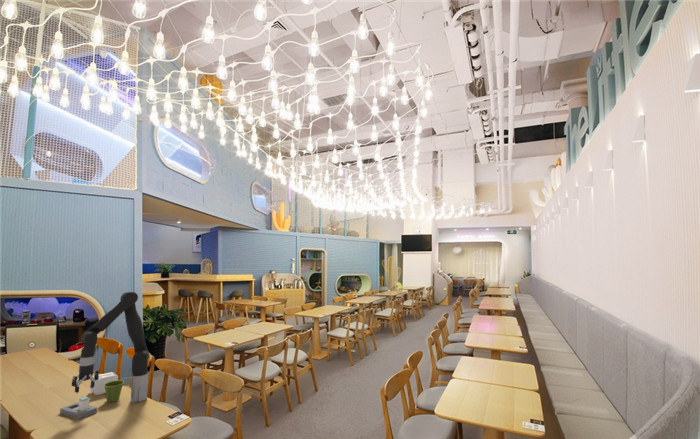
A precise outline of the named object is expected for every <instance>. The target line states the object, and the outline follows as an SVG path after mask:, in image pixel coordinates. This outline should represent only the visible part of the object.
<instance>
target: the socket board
mask: <svg viewBox="0 0 700 439" xmlns="http://www.w3.org/2000/svg"><path fill="white" fill-rule="evenodd" d="M97 410H98V407H96V406H93V405H89V407H88V409H87V410H85V411H82V412H81V411H79V401H78V402H75V403H72V404H70V405H66V406H63V407H61V408H59V414H61V415H64V416H67V417H70V418H74V419H77V420H82V419H83V418H86V417H89V416H91V415H94V414H96V413H98V412H97Z"/></svg>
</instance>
